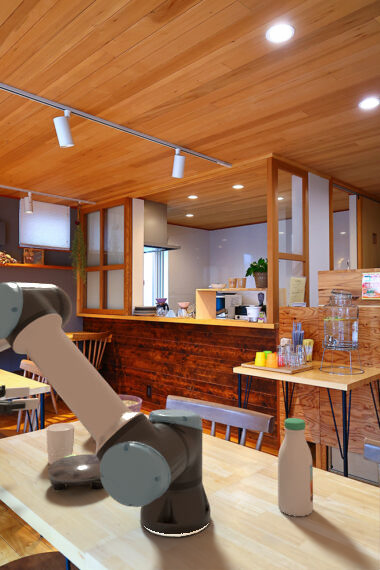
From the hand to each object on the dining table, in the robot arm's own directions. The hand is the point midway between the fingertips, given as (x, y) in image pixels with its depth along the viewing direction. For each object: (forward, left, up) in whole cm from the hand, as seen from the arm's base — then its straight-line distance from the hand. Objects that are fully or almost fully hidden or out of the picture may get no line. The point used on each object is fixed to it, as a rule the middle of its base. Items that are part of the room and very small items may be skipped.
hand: (33, 397), depth 124 cm
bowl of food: (+15, -31, -20) cm, 40 cm away
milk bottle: (-58, -44, -20) cm, 75 cm away
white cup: (0, -8, -20) cm, 21 cm away
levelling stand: (-18, -8, -20) cm, 28 cm away
